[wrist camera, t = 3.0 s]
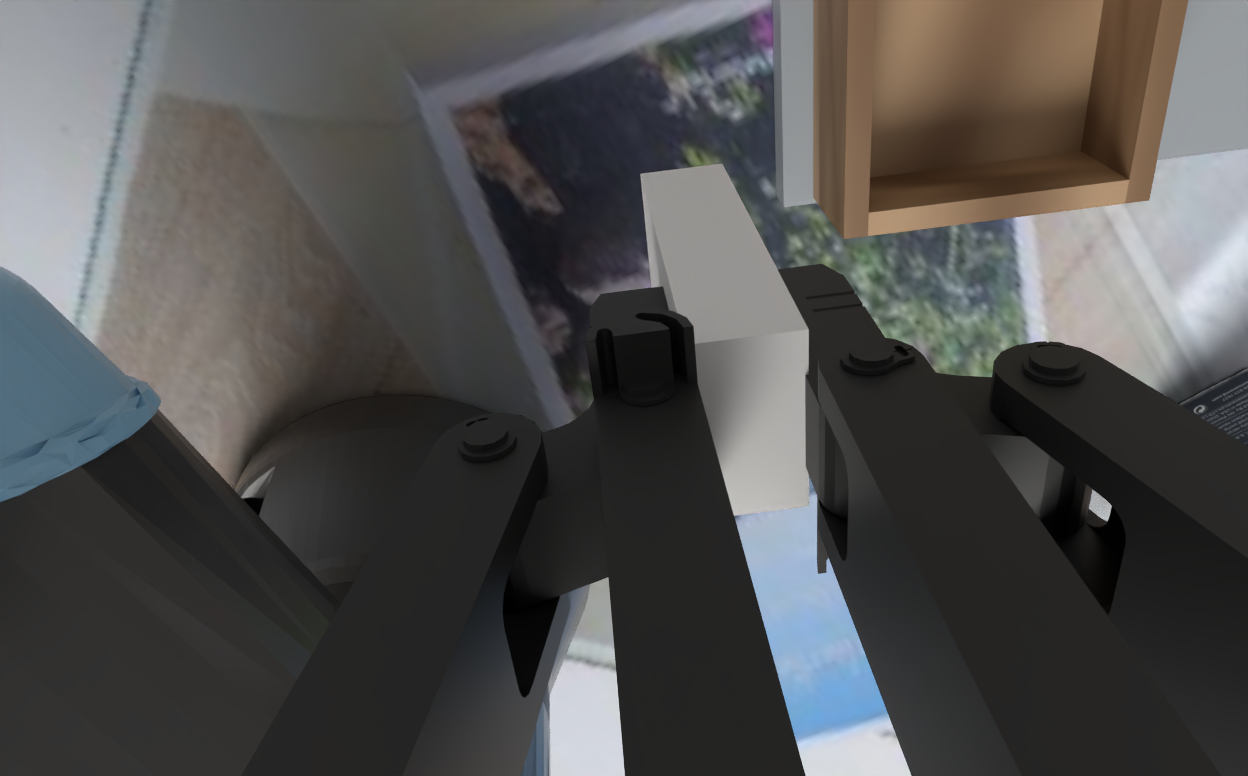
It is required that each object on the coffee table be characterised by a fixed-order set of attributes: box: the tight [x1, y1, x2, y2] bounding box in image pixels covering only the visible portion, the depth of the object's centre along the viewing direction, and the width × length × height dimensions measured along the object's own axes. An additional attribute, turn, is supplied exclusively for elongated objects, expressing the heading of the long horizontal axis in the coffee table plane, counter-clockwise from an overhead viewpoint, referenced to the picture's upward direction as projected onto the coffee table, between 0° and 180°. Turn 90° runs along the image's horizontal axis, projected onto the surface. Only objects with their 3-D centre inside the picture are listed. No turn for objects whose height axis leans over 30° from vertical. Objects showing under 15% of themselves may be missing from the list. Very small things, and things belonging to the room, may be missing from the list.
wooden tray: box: [813, 0, 1188, 239], centre depth 28 cm, size 10×10×4 cm
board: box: [772, 0, 1248, 207], centre depth 28 cm, size 22×10×5 cm, turn 96°
